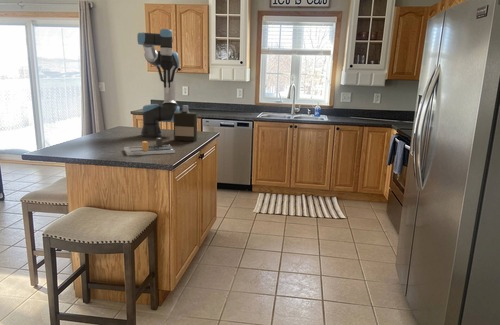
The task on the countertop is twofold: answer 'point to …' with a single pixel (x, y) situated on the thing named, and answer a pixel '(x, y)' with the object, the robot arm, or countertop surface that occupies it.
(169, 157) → the countertop surface
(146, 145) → the orange fader
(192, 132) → the bottle
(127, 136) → the countertop surface
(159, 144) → the black fader
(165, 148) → the panel
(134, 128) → the countertop surface
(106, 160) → the countertop surface
